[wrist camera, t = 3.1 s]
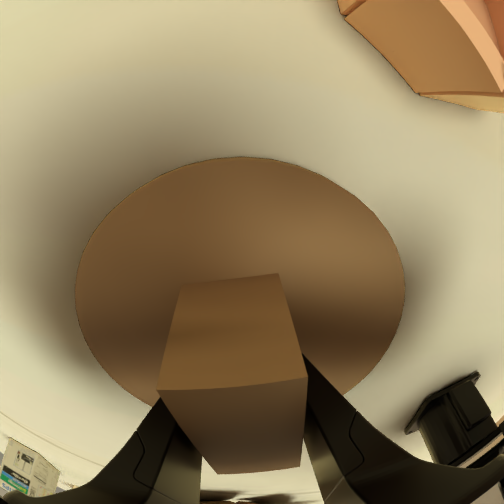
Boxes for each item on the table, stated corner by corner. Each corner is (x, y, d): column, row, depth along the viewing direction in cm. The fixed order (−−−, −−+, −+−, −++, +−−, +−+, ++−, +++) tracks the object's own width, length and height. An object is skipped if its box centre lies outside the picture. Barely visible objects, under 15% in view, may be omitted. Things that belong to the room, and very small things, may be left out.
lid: (365, 386, 14) (394, 458, 9) (149, 411, 13) (137, 485, 9) (403, 147, 8) (522, 184, 3) (46, 198, 8) (-52, 263, 3)
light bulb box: (9, 436, 21) (-7, 483, 11) (39, 452, 22) (25, 503, 12) (33, 459, 25) (23, 499, 15) (61, 472, 26) (52, 515, 16)
